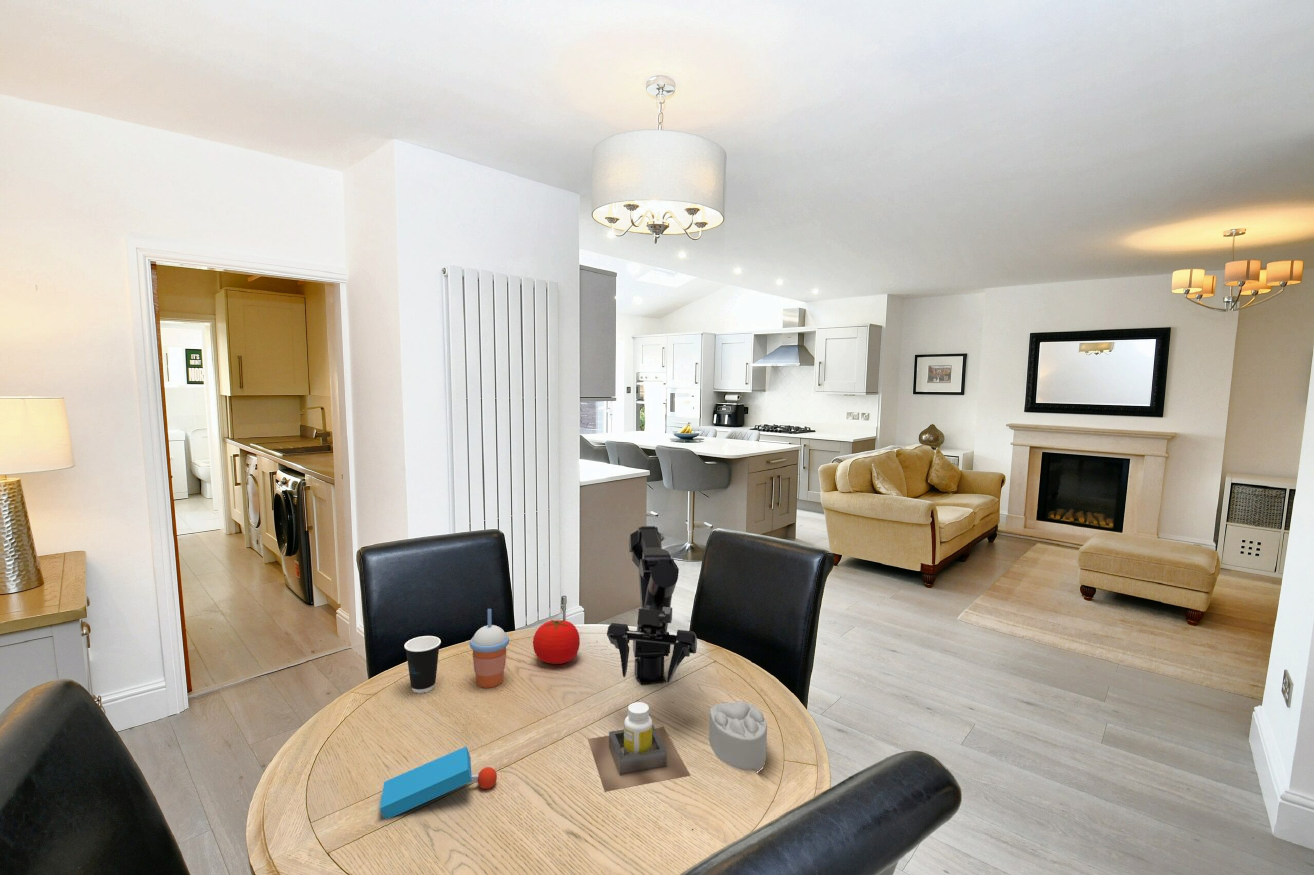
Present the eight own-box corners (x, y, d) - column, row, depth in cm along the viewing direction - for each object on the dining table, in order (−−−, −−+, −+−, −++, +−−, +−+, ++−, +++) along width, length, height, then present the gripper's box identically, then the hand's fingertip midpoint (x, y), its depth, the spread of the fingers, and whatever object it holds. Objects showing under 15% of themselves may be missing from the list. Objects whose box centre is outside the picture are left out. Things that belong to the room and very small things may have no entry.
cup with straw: (503, 692, 138) (503, 617, 136) (464, 690, 138) (464, 616, 136) (513, 673, 147) (513, 602, 145) (477, 672, 147) (476, 601, 146)
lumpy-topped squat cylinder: (751, 733, 124) (753, 693, 123) (776, 772, 111) (778, 729, 110) (703, 737, 122) (705, 697, 121) (723, 779, 109) (725, 734, 108)
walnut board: (663, 732, 123) (663, 726, 123) (690, 781, 108) (690, 775, 108) (587, 744, 118) (587, 738, 118) (604, 797, 103) (604, 791, 103)
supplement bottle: (653, 749, 115) (654, 701, 115) (649, 766, 110) (650, 716, 109) (626, 746, 116) (627, 698, 115) (621, 763, 111) (621, 713, 110)
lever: (393, 843, 98) (500, 794, 103) (379, 808, 97) (489, 759, 102) (396, 815, 105) (497, 769, 110) (384, 781, 103) (486, 737, 109)
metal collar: (652, 738, 119) (652, 724, 118) (666, 766, 110) (666, 751, 110) (608, 746, 116) (608, 731, 116) (619, 775, 108) (619, 759, 107)
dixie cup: (400, 697, 135) (399, 650, 134) (411, 679, 143) (411, 635, 142) (435, 696, 135) (435, 650, 134) (445, 679, 143) (444, 635, 142)
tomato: (581, 650, 160) (581, 613, 159) (577, 671, 149) (578, 631, 148) (536, 650, 160) (537, 613, 159) (529, 671, 148) (529, 630, 147)
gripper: (609, 586, 125) (594, 659, 116) (697, 594, 122) (688, 670, 112) (618, 608, 134) (604, 678, 124) (700, 616, 131) (692, 689, 121)
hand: (645, 679), depth 120 cm, fingers open, 9 cm apart
